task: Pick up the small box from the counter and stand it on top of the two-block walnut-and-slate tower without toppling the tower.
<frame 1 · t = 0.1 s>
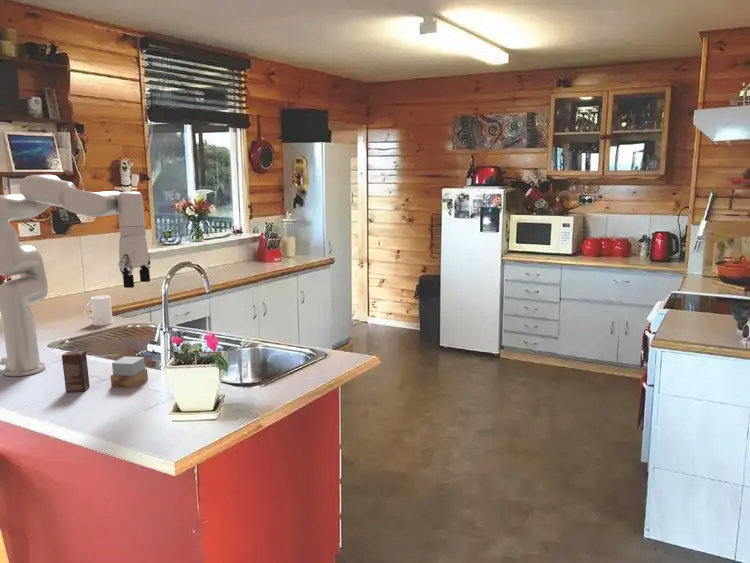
hand: (137, 284, 202), 31 cm above the worktop, fingers open, 9 cm apart
tower top: (129, 372, 202), point 4 cm above the worktop, touching tower base
box: (77, 390, 198), on the worktop
tower base: (130, 383, 203), on the worktop, touching tower top
mug: (99, 324, 279), on the worktop
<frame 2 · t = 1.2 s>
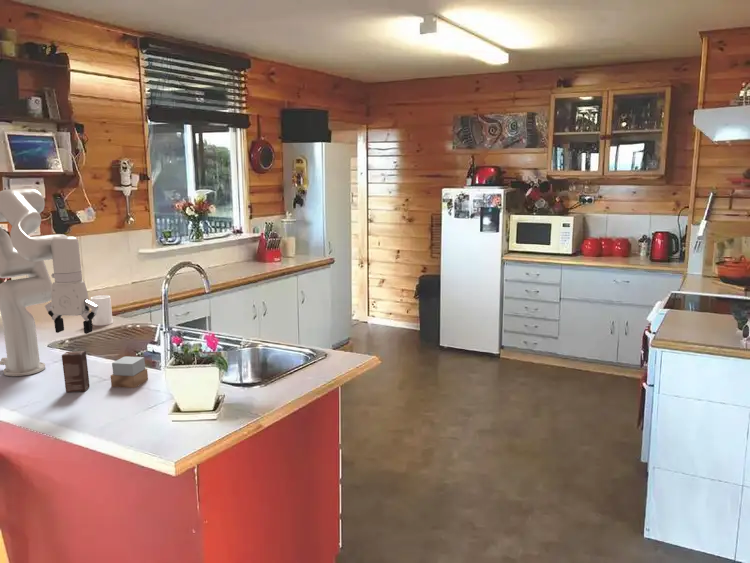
hand: (74, 332, 194), 19 cm above the worktop, fingers open, 9 cm apart
nothing on the worktop moved.
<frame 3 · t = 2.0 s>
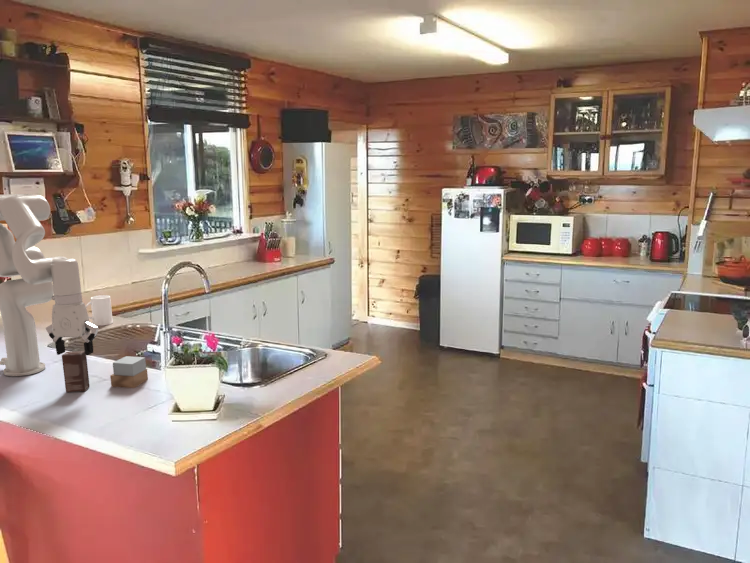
hand: (75, 353, 195), 12 cm above the worktop, fingers open, 9 cm apart
nothing on the worktop moved.
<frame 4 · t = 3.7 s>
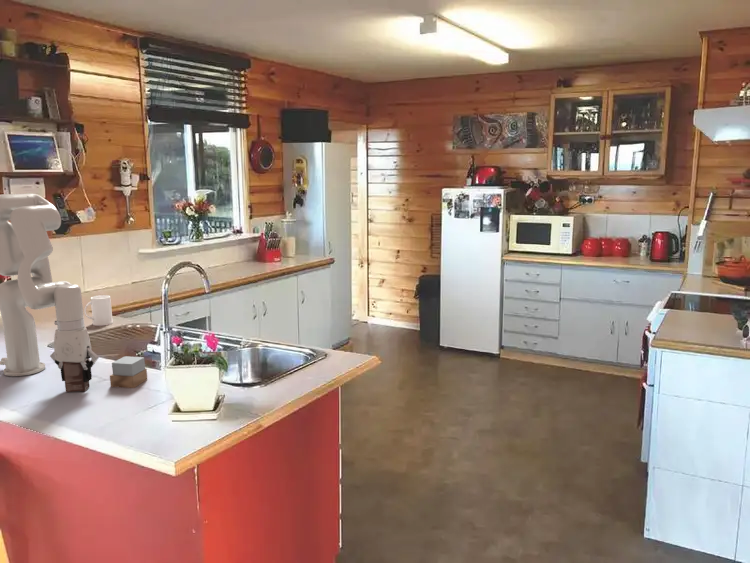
hand: (76, 379, 197), 3 cm above the worktop, fingers closed on box, 6 cm apart
tower top: (129, 372, 202), point 4 cm above the worktop
box: (77, 390, 198), on the worktop, touching gripper
tower base: (129, 384, 203), on the worktop
everything else where it was.
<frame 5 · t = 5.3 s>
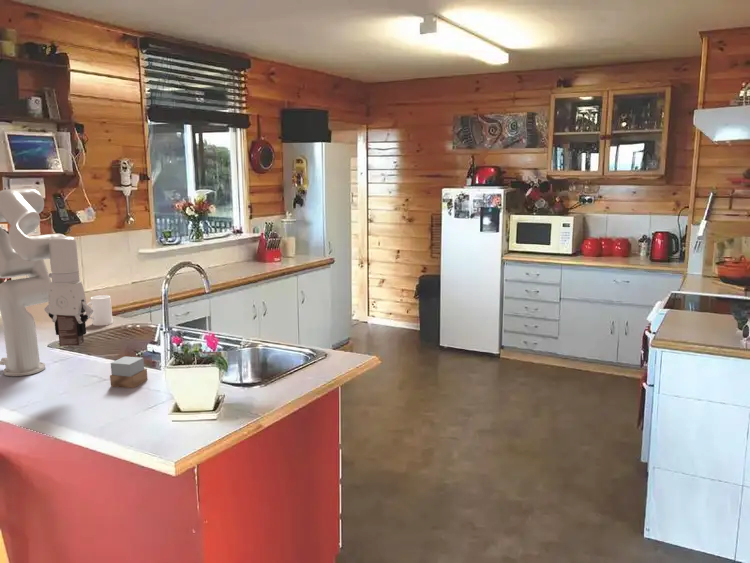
hand: (71, 334, 194), 18 cm above the worktop, fingers closed on box, 6 cm apart
tower top: (128, 372, 202), point 4 cm above the worktop, touching tower base
box: (71, 344, 195), point 14 cm above the worktop, touching gripper
tower base: (129, 383, 203), on the worktop, touching tower top
everything else where it was.
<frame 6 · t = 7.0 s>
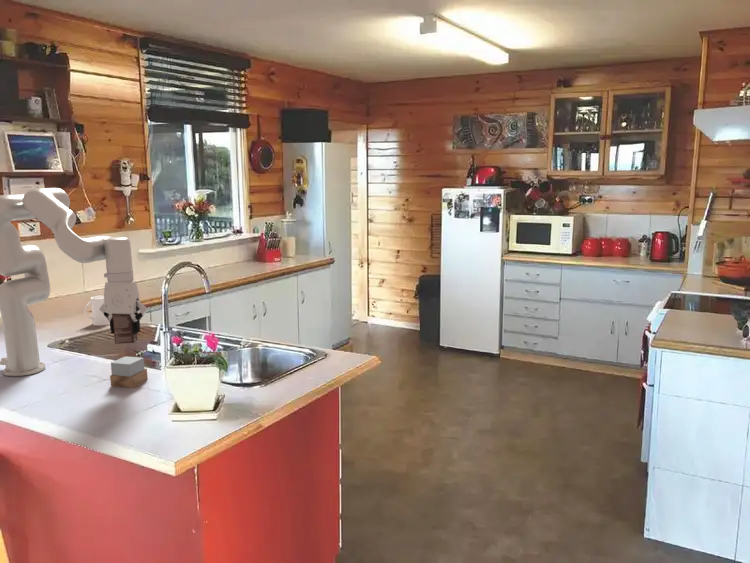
hand: (125, 332, 200), 17 cm above the worktop, fingers closed on box, 6 cm apart
box: (126, 342, 200), point 13 cm above the worktop, touching gripper
everything else where it was.
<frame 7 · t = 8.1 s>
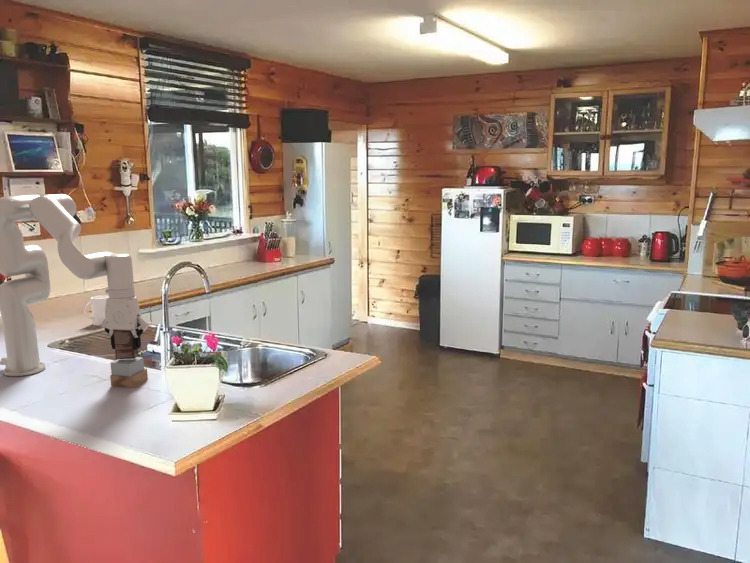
hand: (126, 347, 201), 12 cm above the worktop, fingers closed on box, 6 cm apart
box: (127, 358, 201), point 8 cm above the worktop, touching gripper
everything else where it was.
when the fingers open (12 cm above the worktop, at t = 8.7 s): box stays where it is, point 8 cm above the worktop.
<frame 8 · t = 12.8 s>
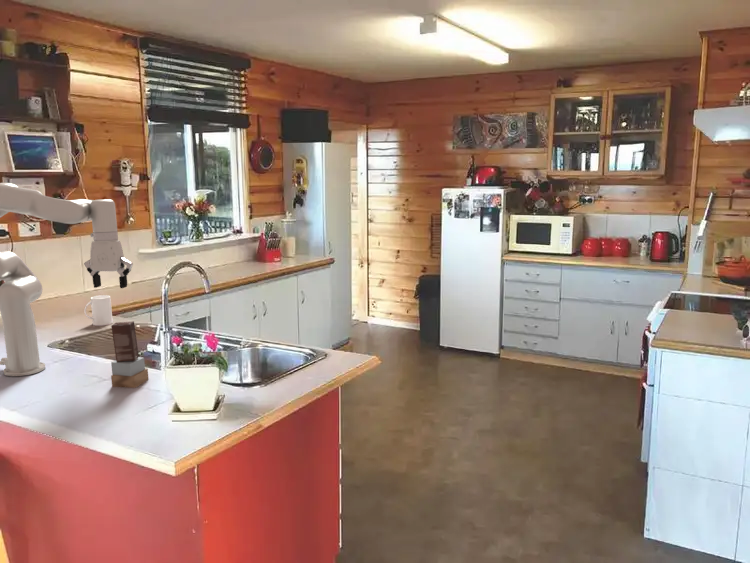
hand: (110, 287, 213), 28 cm above the worktop, fingers open, 9 cm apart
box: (127, 360, 202), point 8 cm above the worktop
everything else where it was.
at the end: box 0.0 cm off-centre on the tower top, point 3.9 cm above the tower top's base; box tilted 2°; tower top 0.3 cm from the tower base (horizontally) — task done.
